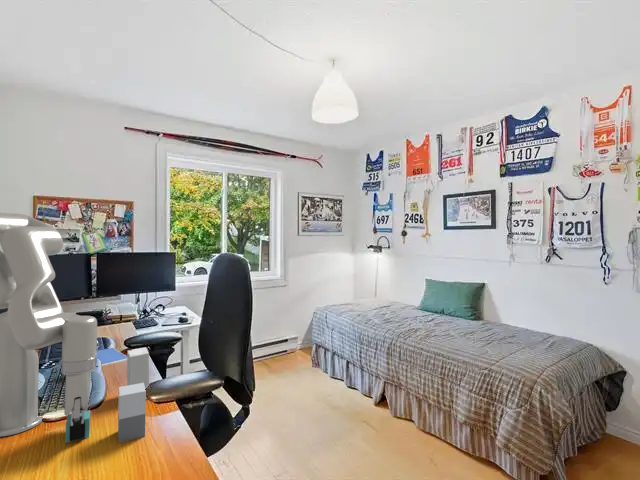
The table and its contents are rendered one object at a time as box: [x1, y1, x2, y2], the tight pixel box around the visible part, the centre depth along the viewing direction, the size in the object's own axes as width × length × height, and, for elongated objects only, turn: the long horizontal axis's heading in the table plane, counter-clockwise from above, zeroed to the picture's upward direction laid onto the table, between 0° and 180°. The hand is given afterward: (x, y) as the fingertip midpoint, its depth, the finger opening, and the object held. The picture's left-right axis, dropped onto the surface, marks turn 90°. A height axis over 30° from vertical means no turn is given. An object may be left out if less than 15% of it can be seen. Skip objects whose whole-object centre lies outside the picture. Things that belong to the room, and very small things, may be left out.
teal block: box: [65, 409, 91, 443], centre depth 91 cm, size 5×5×5 cm
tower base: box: [117, 410, 146, 444], centre depth 92 cm, size 6×6×6 cm
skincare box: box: [126, 346, 150, 400], centre depth 114 cm, size 8×6×15 cm
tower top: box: [117, 383, 147, 419], centre depth 92 cm, size 6×6×6 cm
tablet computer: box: [97, 347, 127, 367], centre depth 148 cm, size 19×13×1 cm, turn 50°
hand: (78, 431), depth 91 cm, fingers open, 6 cm apart
